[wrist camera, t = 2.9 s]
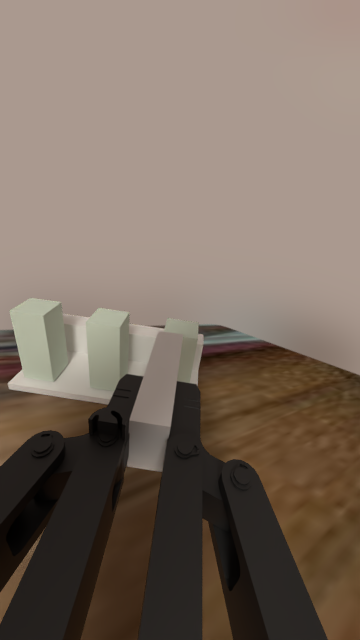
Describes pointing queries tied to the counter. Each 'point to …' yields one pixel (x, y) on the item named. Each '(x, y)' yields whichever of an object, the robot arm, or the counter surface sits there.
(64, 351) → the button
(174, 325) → the pale green tall block
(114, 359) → the middle button
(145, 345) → the button panel
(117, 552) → the counter surface
